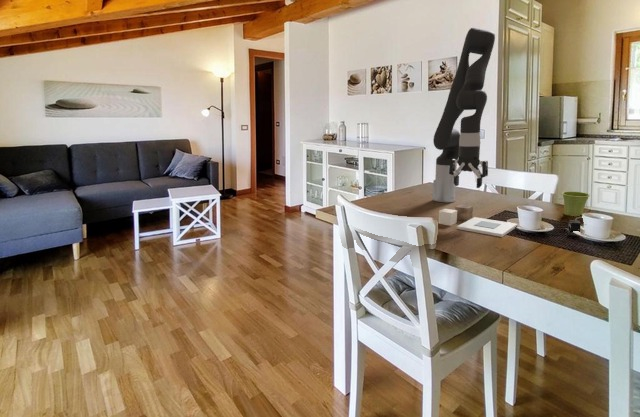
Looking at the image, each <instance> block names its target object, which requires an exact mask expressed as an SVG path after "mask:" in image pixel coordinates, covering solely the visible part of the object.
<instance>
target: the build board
mask: <svg viewBox="0 0 640 417" xmlns="http://www.w3.org/2000/svg"><path fill="white" fill-rule="evenodd" d="M518 224H519V223H515V222H508V221H502V220H494V219H489V218H484V217H477V216H473V217H472V219H470V220H468V221H464V222H463V223H460V224H459V225H457V226H456V229H457V230H461V231H467V232H472V233H476V234H477V233H478V234H485V235H489V236H495V237H500V238H503V237H504V236H507V234H509V233H510V232H512V231H513V230H515V229H516V228H515V226H516V225H517V226H518Z"/></svg>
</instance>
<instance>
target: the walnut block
mask: <svg viewBox="0 0 640 417" xmlns="http://www.w3.org/2000/svg"><path fill="white" fill-rule="evenodd" d="M454 208H455V209H454V210H457V220H458V221H459V220H460V221H464V222H466V221H468V220H470V219H472V218H473V212H474V206H473V205H467V204H459V205H457V206H455V207H454Z"/></svg>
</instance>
